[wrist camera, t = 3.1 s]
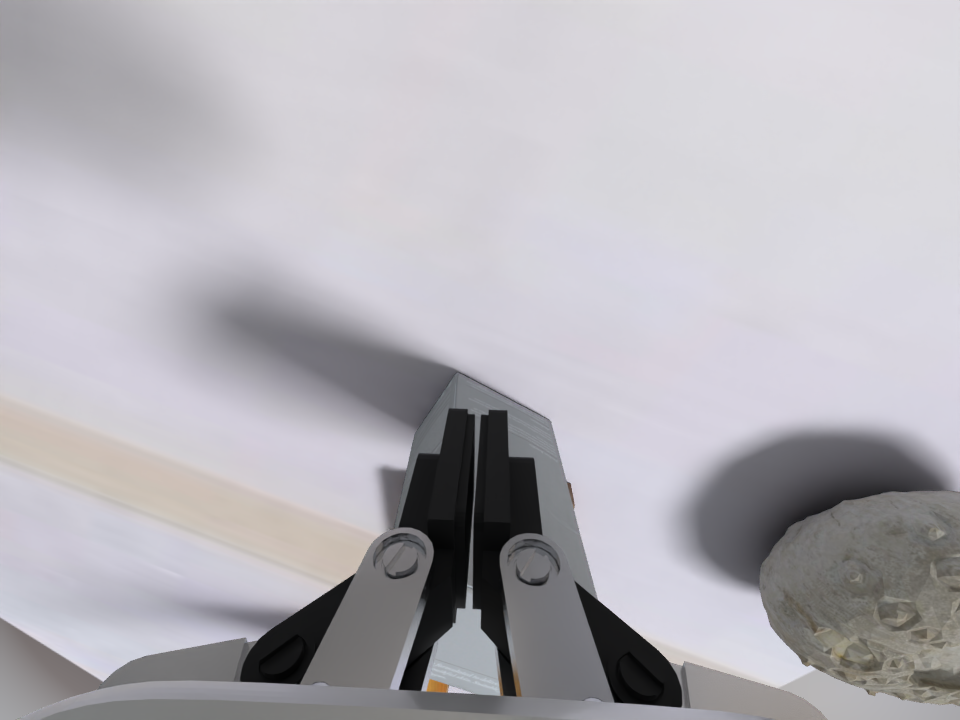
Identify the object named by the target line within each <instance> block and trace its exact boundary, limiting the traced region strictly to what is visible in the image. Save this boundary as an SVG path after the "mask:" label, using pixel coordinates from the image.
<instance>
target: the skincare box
mask: <svg viewBox="0 0 960 720" xmlns="http://www.w3.org/2000/svg"><path fill="white" fill-rule="evenodd" d="M449 408H458V409H468V414H475V473H474V502H473V515H472V529H471V542H470V556H469V569H468V582H467V596H466V608H465V609H459V608H457V614H456V623H453V627H452V628H451V629H450V630H449V631H448V632H446V633H445V634H444V635H443V636H442V637H441V638H440V639H439V640H438V648H437V653H436V656H435V660H434V664H433V668H432V671H431V675H430V679H432V680H435V681H438V682H441V683H444V684H447V685H450V686H453V687H457V688H460V689H462V690H465V691H468V692H471V693H474V694H479V695H496V696H500V688H499V680H498V672H497V665H496V657H495V644H494V643H493V642H492V641H491V640H490V639H489V637H488V636H487V635H486V634H485V633H484V632H483V631H482V630H481V610H479V609H473V523H474V505H475V491H476V477H477V463H478V449H479V435H480V421H481V414H484V415H488V412H489V410H507V412H508V447H509V457H532V458H534V461H535V469H536V479H537V488H538V497H539V506H540V515H541V524H542V533H543V536H546V537H548V538H549V539H551V540H553V541H554V542H556V544H557V545H558V546H559V547H560V548H561V549H562V550H563V552H564V554H565V556H566V558H567V561H568V564H569V567H570V570H571V573H572V576H573V579H574V581H576V582H577V583H578V584H579V585H580V586H582V587H583V588H584V589H585V590H586V591H588V592H589V593H590V594H591V595H592V596H594V597H595V598H596V599H597V595H596V591H595V588H594V584H593V580H592V576H591V573H590V569H589V565H588V562H587V558H586V554H585V551H584V547H583V543H582V540H581V536H580V532H579V528H578V524H577V520H576V516H575V512H574V508H573V504H572V501H571V497H570V493H569V489H568V485H567V482H566V478H565V474H564V470H563V466H562V462H561V458H560V455H559V451H558V447H557V443H556V439H555V436H554V432H553V428H552V424H551V423H552V422H551V421H550V420H548V419H546V418H544V417H542V416H540V415H538V414H537V413H535V412H533V411H531V410H529V409H527V408H525V407H523V406H521V405H519V404H517V403H515V402H513V401H512V400H510V399H508V398H506V397H504V396H502V395H500V394H498V393H497V392H495V391H493V390H491V389H489V388H487V387H485V386H483V385H481V384H479V383H478V382H476V381H474V380H472V379H470V378H468V377H466V376H464V375H462V374H460V373H456V374H455V375H454V377H453V378H452V380H451V381H450V383H449V384H448V386H447V387H446V389H445V390H444V392H443V393H442V395H441V396H440V398H439V399H438V400H437V402H436V403H435V405H434V406H433V408H432V409H431V411H430V412H429V414H428V415H427V417H426V418H425V420H424V421H423V423H422V424H421V426H420V427H419V429H418V430H417V432H416V433H415V435H414V440H413V443H412V448H411V452H410V457H409V462H408V466H407V471H406V475H405V480H404V485H403V489H402V494H401V498H400V503H399V508H398V512H397V517H396V521H395V526H394V529H397V528H398V527H399V523H400V520H401V516H402V512H403V508H404V505H405V501H406V497H407V493H408V490H409V486H410V482H411V478H412V474H413V471H414V467H415V463H416V459H417V456H418V454H419V453H431V454H440V450H441V445H442V440H443V435H444V430H445V424H446V419H447V414H448V410H449ZM597 600H598V599H597Z"/></svg>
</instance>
